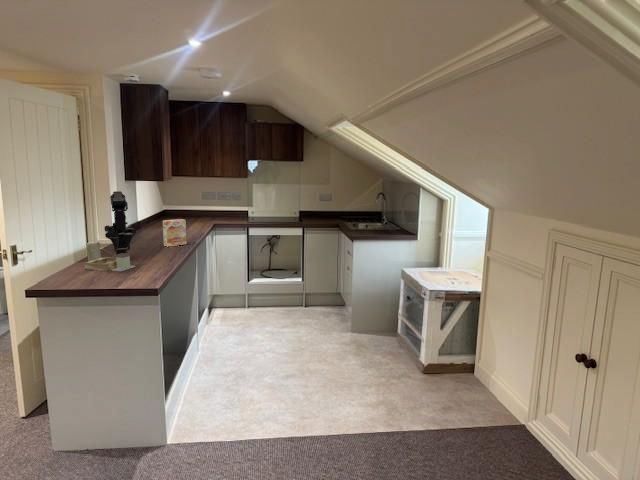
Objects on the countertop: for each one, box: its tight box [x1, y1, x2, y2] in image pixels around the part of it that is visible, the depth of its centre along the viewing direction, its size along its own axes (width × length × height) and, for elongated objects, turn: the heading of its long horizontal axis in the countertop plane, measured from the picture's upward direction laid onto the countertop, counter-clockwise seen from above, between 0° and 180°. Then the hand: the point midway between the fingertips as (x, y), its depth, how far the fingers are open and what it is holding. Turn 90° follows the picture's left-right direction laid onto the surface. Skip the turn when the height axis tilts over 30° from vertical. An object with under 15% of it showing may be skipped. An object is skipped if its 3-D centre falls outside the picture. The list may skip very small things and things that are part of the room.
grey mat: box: [111, 264, 136, 272], centre depth 249 cm, size 12×6×1 cm, turn 165°
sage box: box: [115, 252, 131, 269], centre depth 248 cm, size 5×5×8 cm
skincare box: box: [85, 241, 102, 262], centre depth 265 cm, size 6×4×12 cm
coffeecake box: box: [162, 218, 188, 248], centre depth 317 cm, size 15×7×20 cm, turn 131°
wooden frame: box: [84, 256, 117, 272], centre depth 252 cm, size 16×15×4 cm
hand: (122, 247), depth 246 cm, fingers open, 9 cm apart
